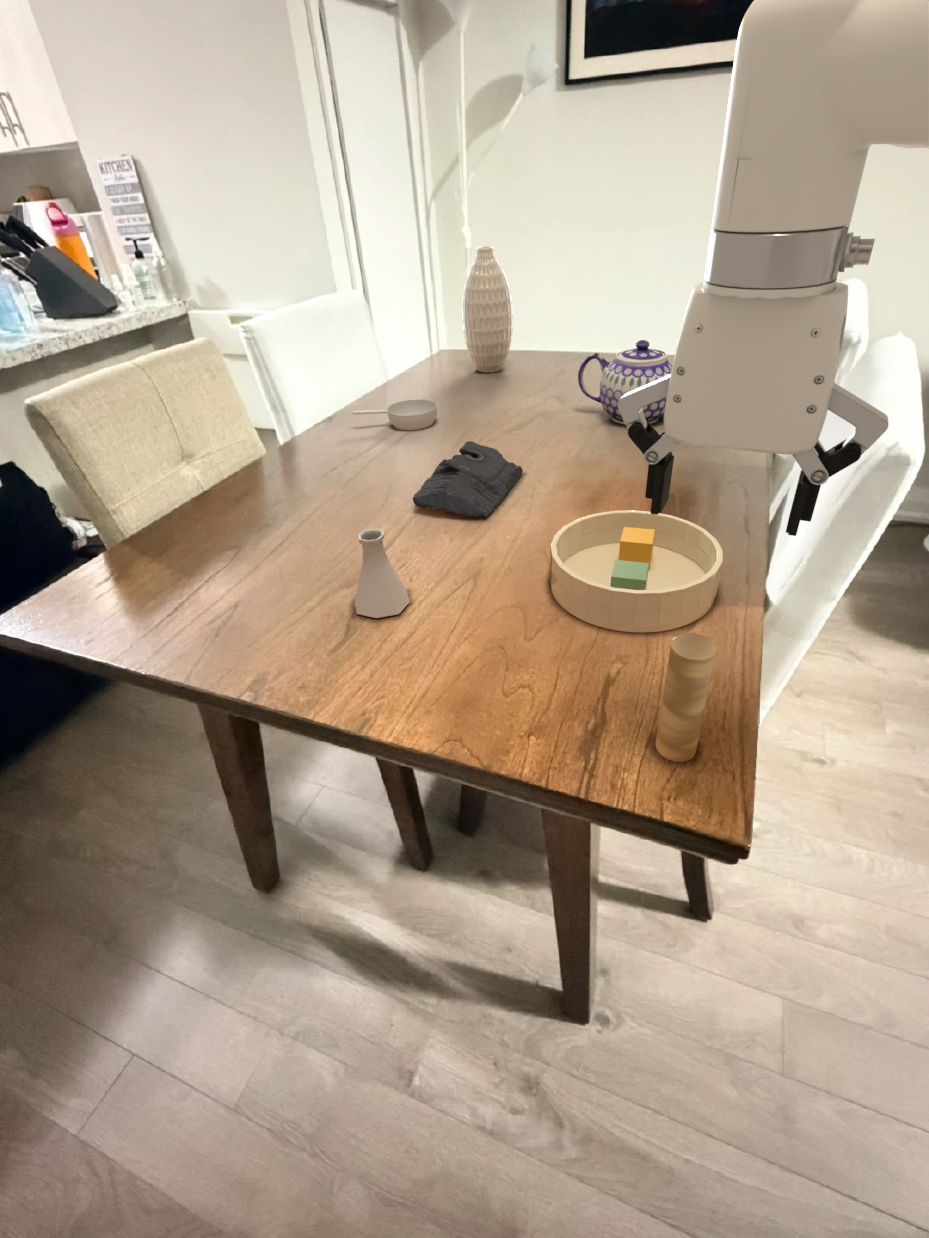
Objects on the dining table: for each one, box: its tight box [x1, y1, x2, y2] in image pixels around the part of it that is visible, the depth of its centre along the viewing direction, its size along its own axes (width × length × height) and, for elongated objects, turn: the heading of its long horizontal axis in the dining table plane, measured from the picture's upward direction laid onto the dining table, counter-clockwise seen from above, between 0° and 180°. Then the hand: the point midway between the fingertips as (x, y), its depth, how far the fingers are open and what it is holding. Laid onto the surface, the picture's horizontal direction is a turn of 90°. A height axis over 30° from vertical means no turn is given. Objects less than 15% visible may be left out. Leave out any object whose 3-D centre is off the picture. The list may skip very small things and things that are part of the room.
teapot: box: [577, 339, 673, 425], centre depth 128 cm, size 25×15×15 cm, turn 61°
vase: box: [461, 245, 514, 374], centre depth 161 cm, size 13×13×28 cm
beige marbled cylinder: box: [655, 632, 718, 763], centre depth 56 cm, size 4×4×12 cm
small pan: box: [351, 398, 438, 431], centre depth 137 cm, size 11×18×4 cm, turn 97°
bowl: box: [549, 509, 724, 634], centre depth 81 cm, size 20×20×6 cm
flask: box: [354, 528, 411, 619], centre depth 80 cm, size 7×7×10 cm
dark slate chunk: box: [412, 440, 524, 518], centre depth 108 cm, size 15×22×5 cm
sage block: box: [610, 560, 649, 590], centre depth 77 cm, size 4×4×4 cm
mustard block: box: [619, 527, 655, 571], centre depth 84 cm, size 4×4×4 cm
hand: (723, 516), depth 49 cm, fingers open, 9 cm apart
